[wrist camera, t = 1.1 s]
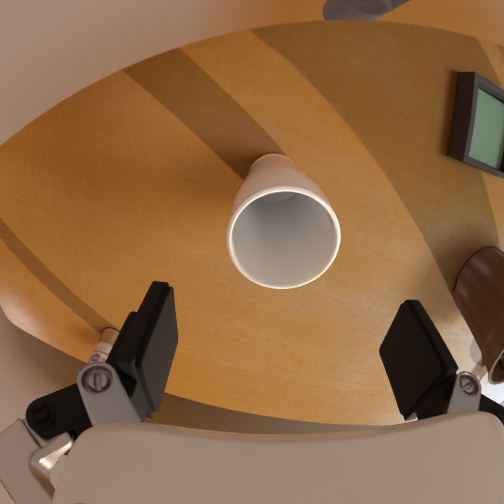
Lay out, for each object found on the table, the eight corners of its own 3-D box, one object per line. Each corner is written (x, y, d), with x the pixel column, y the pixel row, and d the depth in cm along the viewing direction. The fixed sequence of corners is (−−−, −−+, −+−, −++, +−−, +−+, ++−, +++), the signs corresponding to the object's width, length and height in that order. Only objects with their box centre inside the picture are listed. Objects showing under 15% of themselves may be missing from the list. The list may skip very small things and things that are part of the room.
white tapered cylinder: (241, 206, 31) (227, 290, 18) (240, 145, 28) (221, 184, 14) (303, 207, 31) (333, 290, 18) (307, 146, 27) (349, 187, 14)
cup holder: (457, 71, 21) (474, 71, 18) (509, 104, 21) (526, 107, 18) (446, 155, 26) (462, 162, 23) (498, 176, 27) (513, 184, 23)
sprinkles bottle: (117, 325, 41) (85, 391, 29) (132, 344, 43) (105, 409, 31) (98, 328, 42) (66, 389, 30) (113, 346, 44) (86, 407, 32)
